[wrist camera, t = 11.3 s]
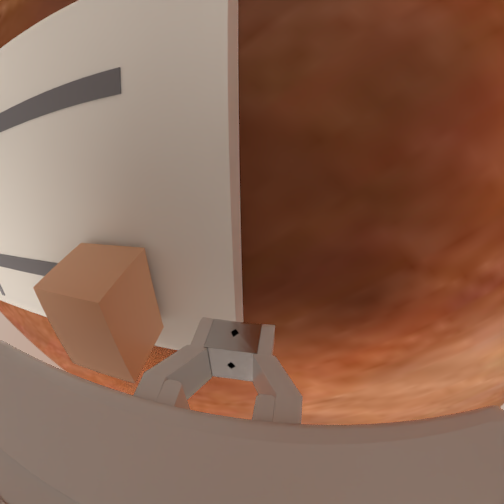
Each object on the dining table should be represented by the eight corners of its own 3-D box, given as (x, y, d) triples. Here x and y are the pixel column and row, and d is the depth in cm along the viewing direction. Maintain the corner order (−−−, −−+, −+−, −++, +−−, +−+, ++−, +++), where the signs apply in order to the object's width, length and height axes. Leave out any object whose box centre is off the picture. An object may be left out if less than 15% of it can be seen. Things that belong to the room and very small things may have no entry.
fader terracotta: (144, 247, 13) (98, 302, 9) (163, 326, 15) (135, 383, 12) (81, 242, 13) (33, 287, 10) (105, 315, 16) (73, 363, 12)
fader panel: (238, -26, 8) (227, -44, 6) (243, 335, 18) (237, 360, 16) (-49, 103, 11) (-65, 109, 10) (-7, 282, 22) (-18, 293, 20)
